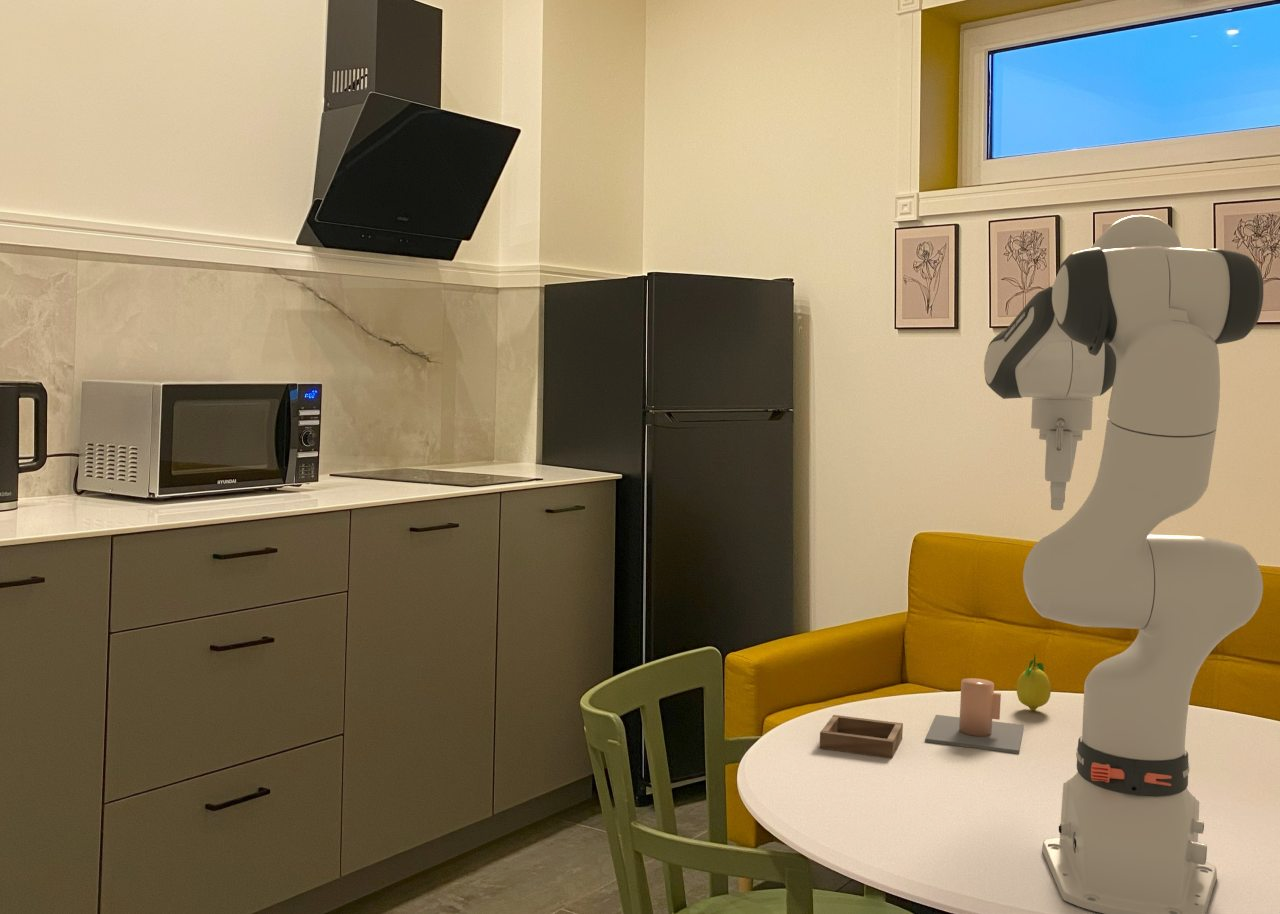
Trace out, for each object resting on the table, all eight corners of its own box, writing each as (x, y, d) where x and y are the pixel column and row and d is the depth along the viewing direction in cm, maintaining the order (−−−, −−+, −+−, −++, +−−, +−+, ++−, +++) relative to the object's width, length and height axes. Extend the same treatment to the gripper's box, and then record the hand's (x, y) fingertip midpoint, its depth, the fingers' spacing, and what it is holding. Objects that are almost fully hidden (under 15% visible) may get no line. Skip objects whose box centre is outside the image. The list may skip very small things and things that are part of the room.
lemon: (1025, 717, 193) (1027, 658, 192) (1006, 707, 198) (1008, 650, 198) (1060, 714, 194) (1062, 656, 194) (1040, 705, 200) (1042, 648, 199)
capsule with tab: (998, 738, 179) (1001, 688, 178) (958, 733, 181) (960, 683, 180) (999, 730, 183) (1001, 681, 183) (959, 725, 185) (962, 676, 185)
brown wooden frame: (892, 758, 170) (892, 741, 170) (819, 748, 174) (820, 732, 174) (902, 738, 180) (902, 723, 180) (833, 730, 184) (833, 714, 183)
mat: (1018, 753, 173) (1019, 750, 173) (924, 741, 178) (925, 738, 178) (1023, 727, 186) (1023, 724, 186) (935, 717, 191) (935, 714, 191)
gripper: (1083, 420, 166) (1078, 515, 167) (1083, 417, 185) (1079, 501, 186) (1037, 419, 168) (1033, 512, 169) (1042, 416, 187) (1038, 499, 188)
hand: (1057, 506), depth 178 cm, fingers open, 8 cm apart
